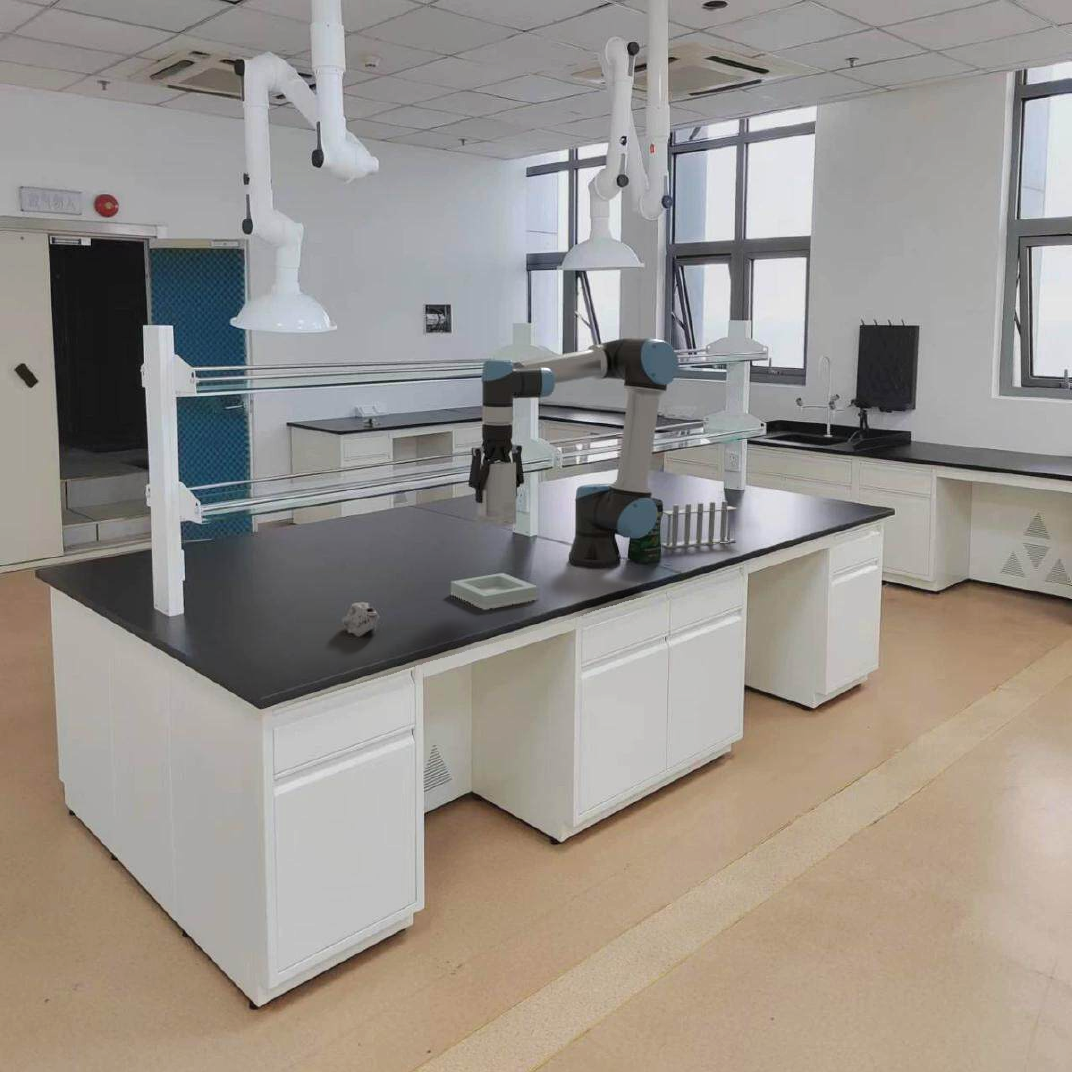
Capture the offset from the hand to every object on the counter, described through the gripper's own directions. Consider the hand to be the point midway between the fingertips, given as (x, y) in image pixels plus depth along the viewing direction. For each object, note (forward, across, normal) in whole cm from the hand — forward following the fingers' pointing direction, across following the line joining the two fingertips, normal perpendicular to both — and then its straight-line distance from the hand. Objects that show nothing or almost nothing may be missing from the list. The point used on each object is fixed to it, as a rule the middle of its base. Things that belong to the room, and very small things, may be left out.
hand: (496, 513), depth 260 cm
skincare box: (+3, 0, 0) cm, 3 cm away
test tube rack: (+21, -86, -15) cm, 90 cm away
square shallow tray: (+22, 0, 0) cm, 22 cm away
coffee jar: (+21, -57, -8) cm, 62 cm away
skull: (+22, +42, +8) cm, 48 cm away
